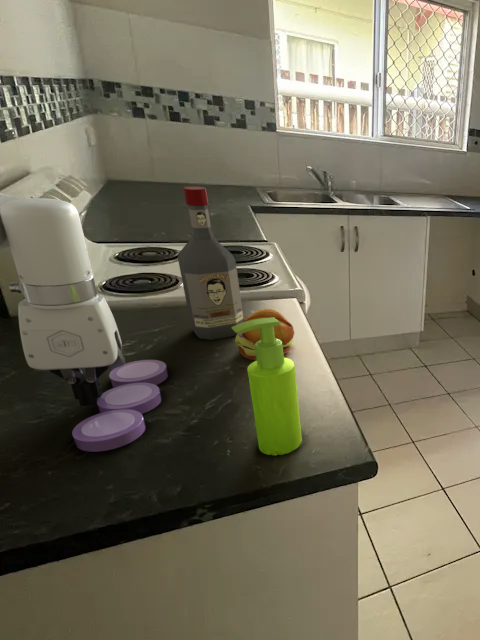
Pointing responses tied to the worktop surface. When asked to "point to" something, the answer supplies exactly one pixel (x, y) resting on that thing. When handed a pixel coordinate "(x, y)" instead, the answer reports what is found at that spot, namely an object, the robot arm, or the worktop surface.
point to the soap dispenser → (273, 391)
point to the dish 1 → (108, 430)
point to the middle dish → (130, 398)
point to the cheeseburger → (251, 337)
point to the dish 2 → (139, 373)
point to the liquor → (208, 275)
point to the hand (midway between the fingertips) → (90, 401)
